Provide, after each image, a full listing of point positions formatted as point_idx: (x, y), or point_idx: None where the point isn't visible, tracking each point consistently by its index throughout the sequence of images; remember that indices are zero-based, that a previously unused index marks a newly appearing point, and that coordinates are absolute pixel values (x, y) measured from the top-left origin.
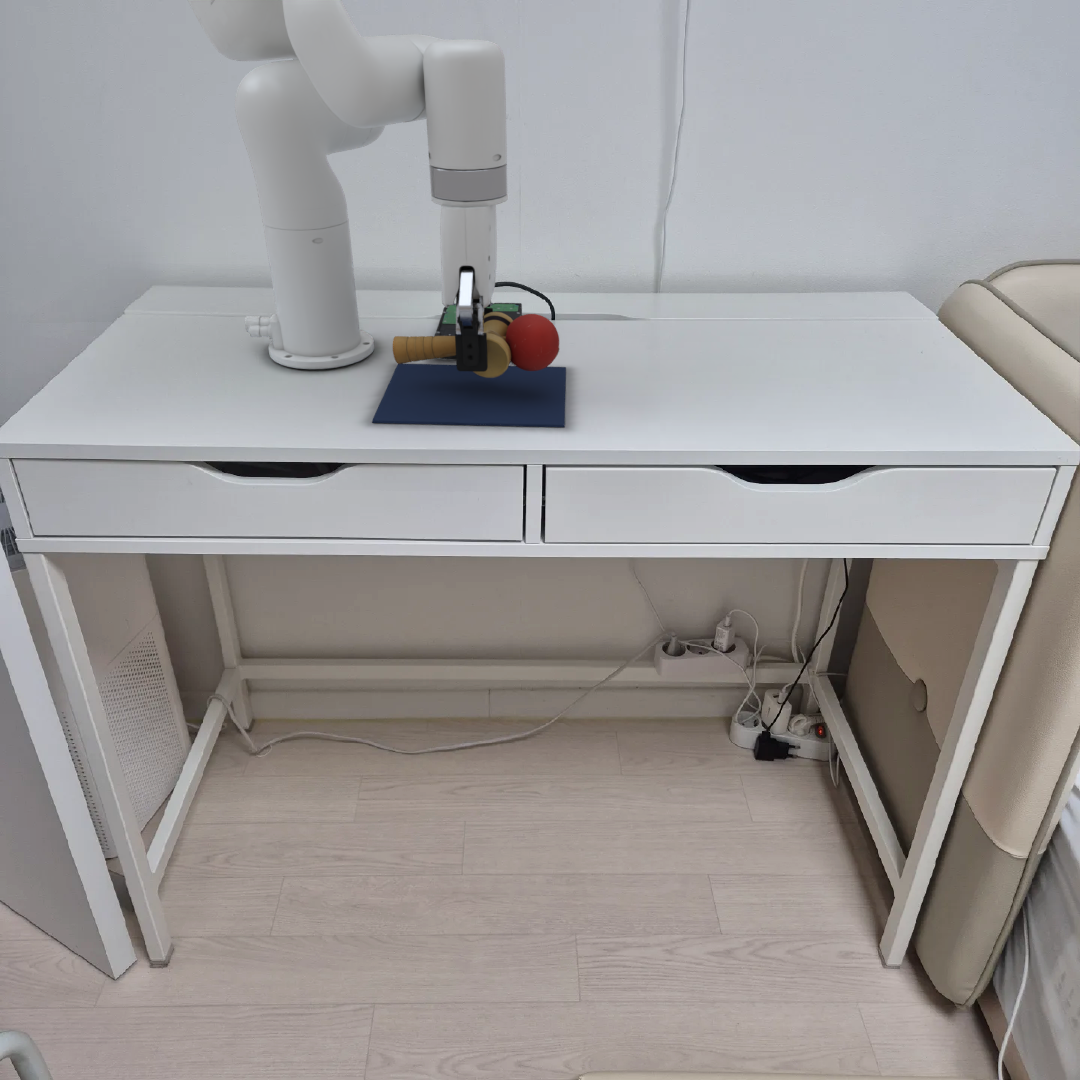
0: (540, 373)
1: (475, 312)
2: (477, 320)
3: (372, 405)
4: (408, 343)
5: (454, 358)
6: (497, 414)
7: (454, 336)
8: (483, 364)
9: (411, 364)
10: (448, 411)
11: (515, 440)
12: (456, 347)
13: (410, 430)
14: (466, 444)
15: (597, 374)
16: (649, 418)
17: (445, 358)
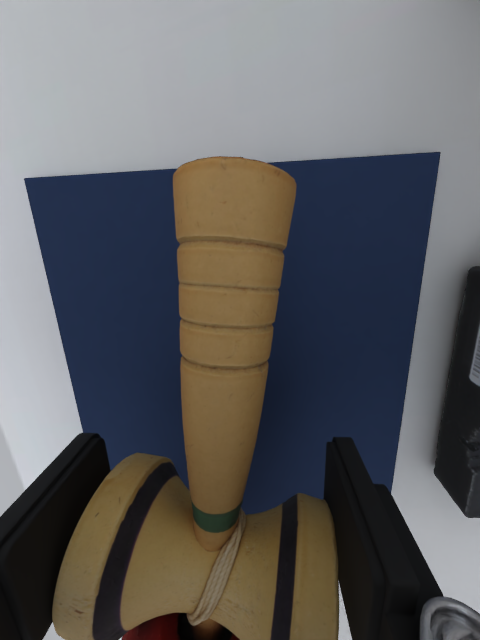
0: None
1: (364, 613)
2: (350, 568)
3: (131, 149)
4: (184, 251)
5: (458, 327)
6: (124, 444)
7: (214, 460)
8: None
9: (426, 202)
10: (116, 352)
11: (44, 469)
12: (19, 499)
13: (24, 281)
14: (2, 396)
15: None
16: None
17: (464, 301)
